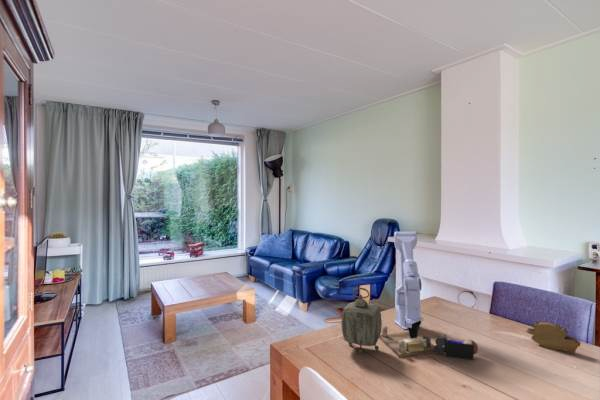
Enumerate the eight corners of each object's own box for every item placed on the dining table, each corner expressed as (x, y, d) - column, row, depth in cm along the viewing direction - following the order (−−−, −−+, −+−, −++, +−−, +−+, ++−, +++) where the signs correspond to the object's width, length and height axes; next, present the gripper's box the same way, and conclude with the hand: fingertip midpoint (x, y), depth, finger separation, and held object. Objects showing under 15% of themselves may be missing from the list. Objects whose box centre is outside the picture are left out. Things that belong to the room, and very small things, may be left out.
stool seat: (378, 338, 136) (378, 325, 136) (414, 333, 139) (414, 321, 139) (399, 357, 119) (398, 343, 119) (439, 351, 122) (438, 338, 122)
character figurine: (434, 350, 125) (477, 356, 119) (434, 357, 118) (480, 364, 112) (433, 330, 125) (476, 335, 120) (434, 336, 118) (479, 342, 113)
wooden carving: (580, 352, 119) (580, 326, 119) (580, 357, 116) (579, 330, 116) (527, 340, 130) (526, 316, 130) (525, 344, 127) (525, 319, 127)
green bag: (382, 348, 126) (380, 286, 126) (377, 359, 118) (376, 293, 118) (347, 342, 132) (345, 283, 132) (340, 352, 124) (339, 289, 124)
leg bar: (427, 343, 127) (427, 335, 127) (432, 346, 124) (432, 338, 124) (402, 347, 124) (402, 339, 124) (406, 350, 122) (406, 342, 122)
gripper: (418, 313, 121) (419, 348, 121) (427, 302, 133) (427, 334, 133) (400, 310, 125) (401, 344, 125) (409, 299, 137) (410, 330, 137)
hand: (413, 338), depth 129 cm, fingers closed
